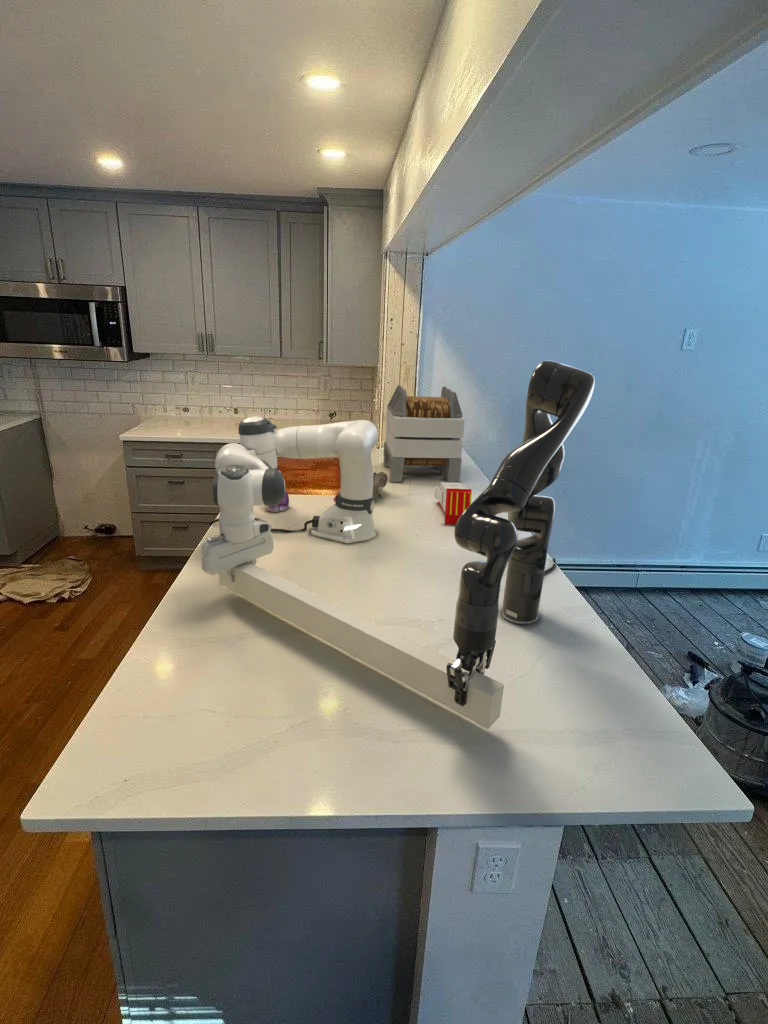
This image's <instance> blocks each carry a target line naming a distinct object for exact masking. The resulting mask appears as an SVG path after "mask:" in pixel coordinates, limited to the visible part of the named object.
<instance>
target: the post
mask: <svg viewBox="0 0 768 1024" xmlns="http://www.w3.org/2000/svg"><path fill="white" fill-rule="evenodd" d="M229 573H230V574H232V575H234V576H235V581H234V582H232V583H228V582H227V581H226V576H225V574H224V573H223V572H220V573H218V577H219V579H218V580H219V585H220V586H223V587H224V588H227V589H228V590H230V591H232V592H233V593H236V594H238V596H239V595H240V596H241V597H243V598H245V599H247V600H248V601H251V602H253V603H254V604H256V605H257V606H259V607H261V608H263V609H265V610H267V611H269V612H271V613H273V614H274V615H276V616H277V617H280V618H282V619H284V620H285V621H287V622H289V623H291V624H292V625H295V626H297V627H298V628H301V629H303V630H304V631H305V632H307V633H310V634H311V635H313V636H315V637H317V638H318V639H321V640H322V641H324V642H326V643H328V644H330V645H332V646H334V647H335V648H336V649H339V650H341V651H343V652H345V653H346V654H348V655H350V656H352V657H354V658H356V659H357V660H360V661H361V662H363V663H365V664H367V665H369V666H371V667H372V668H374V669H376V670H378V671H380V672H382V674H385V675H387V676H389V677H390V678H392V679H394V680H396V681H398V682H400V683H402V684H403V685H405V686H407V687H409V688H410V689H413V690H415V691H417V692H419V693H420V694H422V695H424V696H426V697H427V698H430V699H431V700H433V701H434V702H437V703H438V704H441V705H443V706H445V707H446V708H447V709H449V710H452V711H454V712H455V713H457V714H459V715H461V716H463V717H464V718H466V719H468V720H470V721H471V722H474V723H475V724H477V725H479V726H481V727H483V728H484V729H487V730H488V729H490V728H491V727H492V725H494V724H495V722H497V721H498V720H499V718H500V717H501V709H502V702H503V695H504V687H505V684H504V683H502V682H500V681H498V680H496V679H494V678H492V677H489V676H488V675H486V674H484V675H483V674H481V673H479V672H477V671H475V673H474V677H473V678H472V679H470V682H469V685H468V692H467V700H466V704H465V705H464V706H461V705H459V704H457V703H456V702H455V701H454V697H455V690H454V689H452V688H450V687H448V678H447V669H446V667H447V665H448V663H451V664H454V663H455V662H456V660H454V659H452V658H450V657H448V656H446V655H444V654H441V652H437V651H435V650H433V649H431V648H429V647H427V646H425V645H423V644H421V643H419V642H417V641H414V640H412V639H410V638H408V637H406V636H404V635H402V634H400V633H398V632H396V631H394V630H391V629H389V628H387V627H385V626H383V625H380V624H379V623H377V622H375V621H374V620H371V619H369V618H367V617H364V616H362V615H361V614H359V613H357V612H354V611H352V610H350V609H348V608H346V607H344V606H342V605H339V604H337V603H336V602H333V601H331V600H329V599H327V598H325V597H323V596H321V595H319V594H317V593H315V592H312V591H310V590H309V589H306V588H304V587H302V586H299V584H296V583H295V582H294V583H293V582H291V581H289V580H287V579H285V578H284V577H281V576H279V575H276V574H275V573H273V572H271V571H269V570H266V569H265V568H262V567H260V566H258V565H257V564H255V565H254V564H252V563H250V562H246V563H243V564H241V565H238V566H235V567H233V568H231V572H229ZM461 669H462V668H461ZM462 670H463V671H465V672H467V673H469V671H466V670H464V669H462ZM462 679H463V683H464V681H465V678H463V677H462Z"/></svg>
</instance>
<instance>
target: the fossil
mask: <svg viewBox="0 0 768 1024" xmlns="http://www.w3.org/2000/svg"><path fill="white" fill-rule="evenodd" d="M388 476H389V475H388V474H387V473H385V472H383V471H379V472H376V471H374V472H373V496H374V498H376V496H377V495H378V496H379V497H380V498H382V495H381V494H380V493H381V491H382V490H383V488H385V487H386V486H387V483H388V478H389V477H388Z"/></svg>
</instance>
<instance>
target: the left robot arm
mask: <svg viewBox="0 0 768 1024" xmlns="http://www.w3.org/2000/svg"><path fill="white" fill-rule="evenodd" d="M277 428H278V426H277V425H276V424H273V423H272V421H270V420H269V419H268V418H266V417H261V416H256V415H255V416H249V417H247V418H244V419H242V420H241V421H240V422H239V423H238V435H239V443H237V442H229V443H227V444H224V445H223V446H222V447H221V448H220V449H219V450H218V451H217V453H216V457H215V459H214V460H215V461H214V466H215V472H216V474H217V475H216V476H214V478H212V481H211V487H212V495H213V497H212V499H213V500H212V501H213V503H214V504H215V505H216V506H217V507H218V508H219V515H218V518H216V519H214V520H212V521H210V522H209V523H208V525H209V526H211V525H214V524H216V523H217V522H218V527H219V528H218V529H219V534H218V535H215V536H213V537H209V538H207V539H206V540H205V541H204V542H203V544H202V545H201V570H202V571H203V572H204V573H206V574H208V575H210V576H215V575H217V574H219V573H220V572H223V573H224V574H225V576H226V581H227V582H228V583H232V582H234V581H235V576H234V575H232V574H230V573H229V572H231V568H233V567H235V566H238V565H241V564H243V563H246V562H250V563H252V564H254V565H257V559H259V558H262V557H265V556H267V555H270V554H271V553H273V550H274V534H273V532H280V533H281V532H282V533H297V532H305V531H306V530H308V524H311V530H310V533H311V536H315V537H319V538H323V539H326V540H330V541H336V542H339V543H343V544H352V543H357V542H365V541H368V540H372V539H373V538H375V537H376V535H377V532H376V528H375V523H374V513H373V512H374V509H375V497H374V496H373V473H374V471H373V464H372V451H373V449H374V448H375V447H376V445H377V444H378V441H379V430H378V428H377V426H376V424H375V423H373V422H372V421H371V420H367V419H356V420H348V421H346V420H345V421H340V422H333V423H332V422H331V423H326V424H325V423H324V424H312V425H311V424H308V425H307V424H306V425H295V426H286V427H283V428H280V429H277ZM336 456H337V458H338V464H339V471H340V490H339V491H338V492H337V494H336V495H335V496H334V497H333V502H334V504H333V505H331V506H329V507H328V508H326V509H325V510H323V512H321V514H320V515H313V517H312V519H310V520H307V521H305V522H304V523H303V527H304V528H302V529H299V530H290V529H284V528H272V526H273V525H272V523H271V522H268V521H267V520H265V519H262V518H260V517H256V516H255V512H254V507H256V506H257V507H258V506H265V507H266V506H267V507H268V506H276V505H277V504H279V503H280V502H281V501H282V500H283V498H284V496H285V491H286V482H285V478H284V475H283V474H282V472H281V473H280V472H279V465H278V457H279V458H285V459H295V460H296V459H297V460H298V459H300V460H301V459H302V460H304V459H326V458H331V457H336Z"/></svg>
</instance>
